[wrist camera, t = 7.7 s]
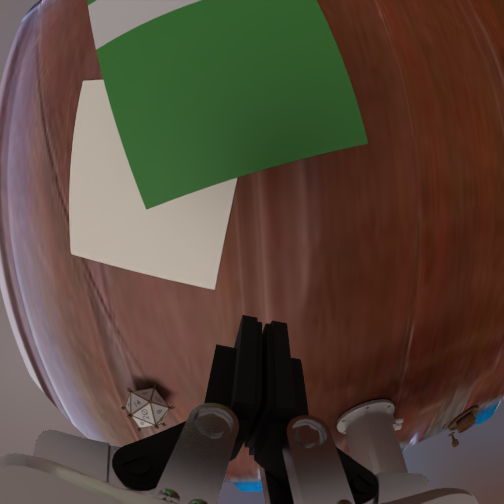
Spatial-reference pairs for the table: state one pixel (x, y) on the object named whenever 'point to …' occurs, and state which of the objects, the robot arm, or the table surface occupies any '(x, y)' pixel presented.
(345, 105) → the hardback book
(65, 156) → the table surface
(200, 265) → the desk pad
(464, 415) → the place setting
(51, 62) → the table surface
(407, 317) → the table surface
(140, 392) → the game die
